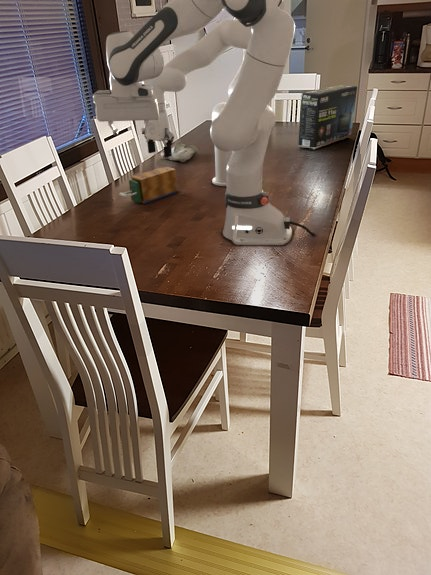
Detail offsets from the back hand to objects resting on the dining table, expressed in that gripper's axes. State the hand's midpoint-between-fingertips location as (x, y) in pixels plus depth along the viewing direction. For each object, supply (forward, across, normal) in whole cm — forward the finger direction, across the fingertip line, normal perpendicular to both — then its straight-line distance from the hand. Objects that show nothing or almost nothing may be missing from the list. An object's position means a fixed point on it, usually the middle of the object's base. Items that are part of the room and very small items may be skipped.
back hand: (160, 154), depth 177 cm
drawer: (+15, 0, -9) cm, 17 cm away
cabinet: (+16, 0, -4) cm, 16 cm away
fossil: (+16, -35, +39) cm, 54 cm away
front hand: (-12, +10, -20) cm, 26 cm away
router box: (+16, +7, +106) cm, 108 cm away
